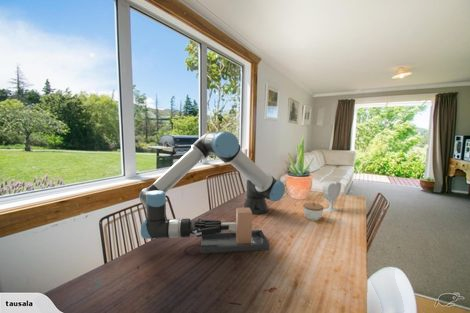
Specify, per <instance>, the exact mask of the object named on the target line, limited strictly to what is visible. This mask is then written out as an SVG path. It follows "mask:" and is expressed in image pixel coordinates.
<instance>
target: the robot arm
mask: <svg viewBox="0 0 470 313" xmlns="http://www.w3.org/2000/svg"><path fill="white" fill-rule="evenodd" d="M241 149H242V146H241V145H240V144H239V140H238V137H237V136H236V135H235V134H234V133H232V132H229V131H225V130H221V131H208V132H206V133H205V134H203V135H202V136H201V137H200V138H198V139H196V141H194V143H193V144H191V146H190V149H189V150H188V151H187V152H186V153H185V154H183V155H182V156H181V157H180V158H179V159H178V160H177V161H176V162H174V164H173V165H172V166H170V167H169V168H168V169H167V170H166V171H165V172H164V173H163V174H162V175H161V176H160V177H159V178H157V179H156V180H155V182H153V183H152V184H150V186H149V187H145V188H143V189H142V190H141V191H140V192H139V195H138V196H139V200H140V203H141V204H142V205H143V207H144V208H145V209H146V219H144V220H143V221H142V222H141V225H140V236H141V238H142V239H147V240H148V239H152V240H155V239H167V238H168V239H169V238H171V239H172V238H173V239H176V238H180V237H181V238H189V237H190V236H191V234H192V235H196V237H197V238H199V237H202V236H203V235H210V234H216V233H221V232H222V231H236V221H233V222H232V221H229V222H222V220H217V219H203V218H202V219H201V218H198V219H197V220H195V221H191V219H190V218H182V219H180V218H167V199H166V198H167V197H166V194H167V193H168V192H169V191H170V190H171V189H172V188H173V187H174V186H176V185H177V183H179V182H180V181H181V179H182V178H184V177H185V176H186V175H187V174H188V173H189V172H190V171H191V170H192V169H193V168H194V167H195V166H196V165H197V164H199V163H200V161H202V160H205V159H207V158H208V157H209V156H211V155H212V156H215V157H217V158H218V159H219V160H220V161H222V162H223V163H225V164H228V163H229V164H230V165H231V166H233V168H235V169H236V170H237V171H238V172H239V173H240V174H242V175H243V176H244V177H245V178H246V198H245V201H244V204H243V208H250V209H251V211H252V215H253V214H254V215H260V214H265V213H267V212H268V208H269V207H268V204H267V201H266V199H267V200H269V201H271V202H278V201H281V200H282V198H283V197H284V195H285V192H286V190H285V189H286V186H285V183H284V182H283V181H281V180H278V179H276V178H275V177H274V176H273V175H272V174H271V173H266V172H264V171H263V169H261V168H260V166H258V165H257V164H256V163H255V162H254V160H252V159H251V158H250V157H249V156H247V154H246V153H245V152H244V151H243V150H241Z"/></svg>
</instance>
